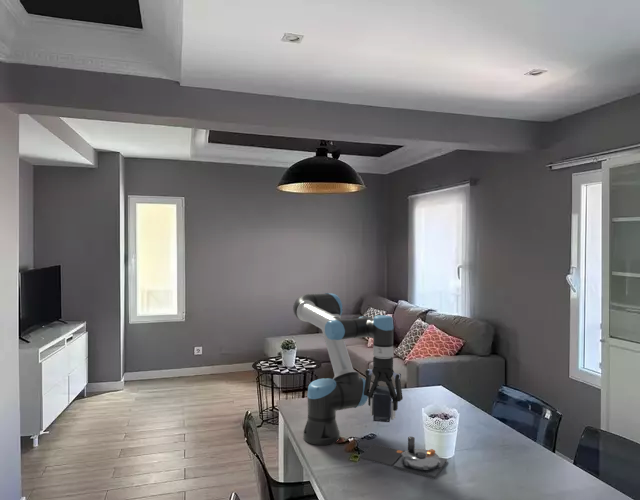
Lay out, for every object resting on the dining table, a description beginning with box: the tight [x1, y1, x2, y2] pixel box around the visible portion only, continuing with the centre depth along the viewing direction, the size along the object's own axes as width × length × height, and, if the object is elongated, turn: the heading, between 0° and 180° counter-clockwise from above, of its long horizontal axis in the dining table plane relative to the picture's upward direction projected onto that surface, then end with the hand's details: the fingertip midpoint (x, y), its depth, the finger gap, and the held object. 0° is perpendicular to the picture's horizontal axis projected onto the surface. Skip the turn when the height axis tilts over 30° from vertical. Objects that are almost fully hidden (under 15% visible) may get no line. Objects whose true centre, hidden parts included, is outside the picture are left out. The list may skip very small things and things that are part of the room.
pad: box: [359, 443, 406, 467], centre depth 175 cm, size 13×13×1 cm
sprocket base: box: [393, 456, 448, 480], centre depth 168 cm, size 15×15×1 cm
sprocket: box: [400, 436, 441, 470], centre depth 168 cm, size 14×13×7 cm
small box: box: [372, 385, 393, 423], centre depth 175 cm, size 11×6×10 cm, turn 168°
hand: (382, 416), depth 175 cm, fingers closed on small box, 8 cm apart
